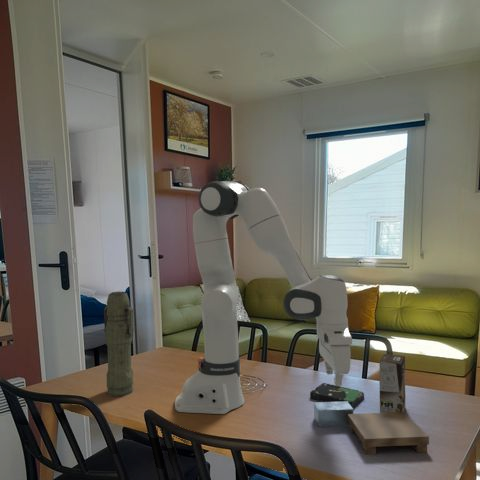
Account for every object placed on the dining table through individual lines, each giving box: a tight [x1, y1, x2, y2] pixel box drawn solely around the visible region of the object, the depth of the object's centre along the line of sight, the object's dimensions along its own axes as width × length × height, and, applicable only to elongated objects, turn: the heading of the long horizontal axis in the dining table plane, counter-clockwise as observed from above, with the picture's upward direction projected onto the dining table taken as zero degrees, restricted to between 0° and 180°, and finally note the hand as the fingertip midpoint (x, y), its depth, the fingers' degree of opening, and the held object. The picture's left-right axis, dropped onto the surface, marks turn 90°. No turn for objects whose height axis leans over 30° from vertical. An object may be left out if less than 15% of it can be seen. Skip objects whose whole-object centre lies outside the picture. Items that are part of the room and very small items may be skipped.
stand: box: [348, 411, 430, 455], centre depth 109 cm, size 16×14×4 cm
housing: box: [313, 401, 354, 428], centre depth 119 cm, size 10×6×5 cm, turn 92°
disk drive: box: [309, 382, 365, 409], centre depth 137 cm, size 10×3×15 cm
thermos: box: [103, 291, 134, 398], centre depth 145 cm, size 9×12×35 cm
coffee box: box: [379, 353, 406, 413], centre depth 126 cm, size 9×6×16 cm
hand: (333, 379), depth 119 cm, fingers open, 8 cm apart
